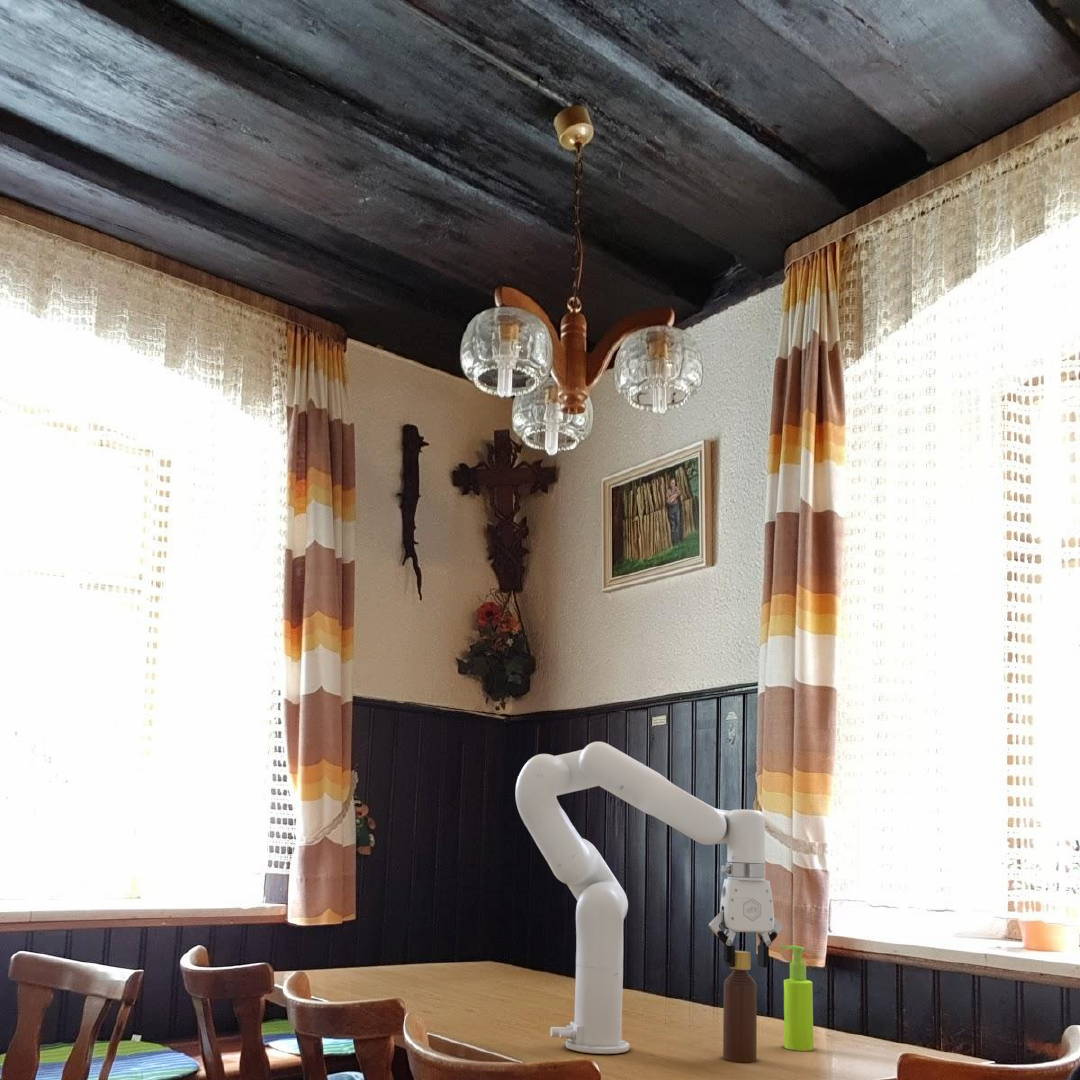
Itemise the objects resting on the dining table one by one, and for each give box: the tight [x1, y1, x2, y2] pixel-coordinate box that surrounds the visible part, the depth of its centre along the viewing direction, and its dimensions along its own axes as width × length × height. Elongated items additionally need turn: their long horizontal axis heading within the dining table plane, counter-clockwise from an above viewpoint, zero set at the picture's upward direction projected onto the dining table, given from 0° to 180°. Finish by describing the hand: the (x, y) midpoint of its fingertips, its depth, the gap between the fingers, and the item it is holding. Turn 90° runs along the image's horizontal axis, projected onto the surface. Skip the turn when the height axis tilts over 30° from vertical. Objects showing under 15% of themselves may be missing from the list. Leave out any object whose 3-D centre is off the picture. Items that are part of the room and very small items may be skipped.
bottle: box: [722, 969, 758, 1063], centre depth 231 cm, size 6×6×19 cm
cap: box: [729, 950, 752, 971], centre depth 233 cm, size 4×4×3 cm
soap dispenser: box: [778, 944, 815, 1052], centre depth 246 cm, size 6×7×20 cm
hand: (746, 965), depth 233 cm, fingers open, 6 cm apart
